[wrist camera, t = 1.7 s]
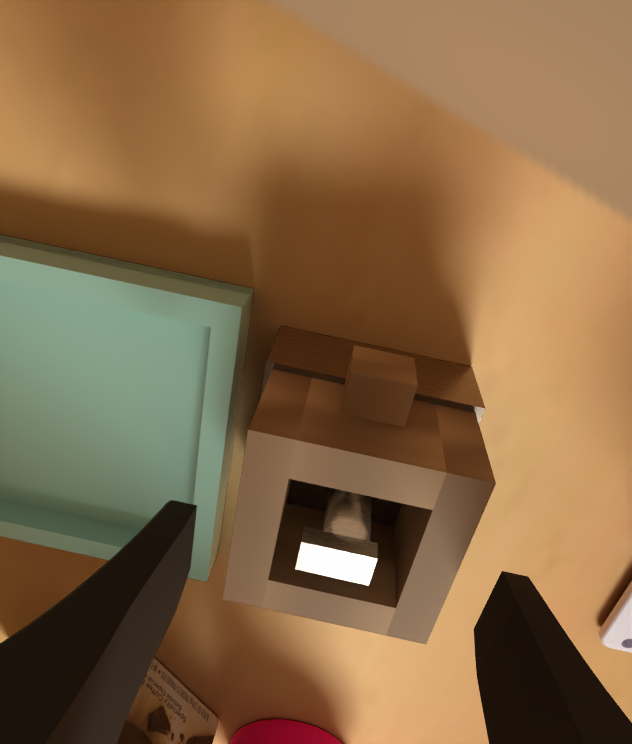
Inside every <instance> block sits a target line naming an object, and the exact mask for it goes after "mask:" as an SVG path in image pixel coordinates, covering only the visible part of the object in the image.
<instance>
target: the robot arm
mask: <svg viewBox="0 0 632 744" xmlns="http://www.w3.org/2000/svg"><path fill="white" fill-rule="evenodd" d="M196 511H197V505H193V504H188V503H184V502H179V501H175V500H170V501H169V502H167V503H166V504H165V505H164V506H163V507H162V508H161V509H160V511H159V512H158V513H157V514H156V515H155V516H154V517H153V518H152V519H151V520H150V521H149V522H148V523H147V524H146V525H145V526H144V528H143V529H142V530H141V531H140V532H139V533H138V534H137V535H136V536H135V537H133V538H132V539H131V540H130V541H129V542H128V543H127V544H126V545H125V546H124V547H123V548H122V549H121V550H120V551H119V552H118V553H117V554H115V555H114V556H113V557H112V558H111V559H110V560H109V561H108V562H107V563H106V564H105V565H104V566H102V567H101V568H100V569H99V570H98V571H97V572H95V573H94V574H93V575H92V576H91V577H89V578H88V579H87V580H86V581H85V582H83V583H82V584H81V585H80V586H79V587H77V588H76V589H75V590H74V591H73V592H71V593H70V594H69V595H68V596H66V597H65V598H64V599H63V600H61V601H60V602H59V603H57V604H56V605H55V606H53V607H52V608H51V609H49V610H48V611H47V612H45V613H44V614H43V615H41V616H40V617H38V618H37V619H36V620H34V621H33V622H31V623H30V624H29V625H27V626H26V627H24V628H23V629H21V630H20V631H18V632H17V633H15V634H14V635H12V636H11V637H9V638H8V639H6V640H5V641H3V642H2V643H0V744H117V742H118V739H119V736H120V734H121V731H122V728H123V725H124V723H125V721H126V718H127V716H128V714H129V711H130V709H131V706H132V704H133V702H134V700H135V698H136V696H137V693H138V691H139V689H140V687H141V685H142V683H143V680H144V678H145V676H146V674H147V672H148V670H149V668H150V665H151V663H152V661H153V659H154V657H155V655H156V653H157V650H158V648H159V646H160V644H161V642H162V640H163V637H164V635H165V633H166V631H167V629H168V627H169V624H170V622H171V620H172V618H173V616H174V613H175V611H176V609H177V606H178V603H179V600H180V597H181V594H182V592H183V589H184V586H185V583H186V580H187V577H188V574H189V571H190V568H191V559H192V549H193V540H194V530H195V521H196ZM599 636H600V639H601V641H602V643H603V644H604V645H605V646H607V647H609V648H613V649H617V650H622V651H626V652H631V653H632V581H631V583H630V584H629V586H628V587H627V589H626V590H625V592H624V593H623V595H622V596H621V598H620V599H619V601H618V602H617V604H616V606H615V607H614V609H613V610H612V612H611V613H610V615H609V616H608V618H607V619H606V621H605V622H604V624H603V625H602V627H601V628H600V630H599ZM474 640H475V657H476V670H477V679H478V685H479V690H480V696H481V701H482V707H483V712H484V718H485V723H486V728H487V734H488V739H489V744H632V723H631V721H630V720H629V719H628V718H627V716H626V715H625V714H624V712H623V711H622V710H621V709H620V707H619V706H618V705H617V703H616V702H615V701H614V700H613V698H612V697H611V696H610V694H609V693H608V692H607V690H606V689H605V688H604V686H603V685H602V684H601V682H600V681H599V680H598V678H597V677H596V676H595V674H594V673H593V671H592V670H591V669H590V667H589V666H588V664H587V663H586V662H585V660H584V659H583V657H582V656H581V655H580V653H579V652H578V650H577V649H576V647H575V646H574V644H573V643H572V641H571V640H570V639H569V637H568V636H567V634H566V633H565V631H564V630H563V628H562V627H561V625H560V624H559V622H558V621H557V619H556V618H555V616H554V615H553V613H552V612H551V610H550V609H549V607H548V606H547V604H546V603H545V601H544V600H543V598H542V597H541V595H540V594H539V592H538V591H537V589H536V588H535V586H534V585H533V583H532V582H531V580H530V579H529V577H527V576H522V575H518V574H513V573H509V572H504V571H502V572H501V574H500V576H499V579H498V581H497V583H496V585H495V587H494V589H493V591H492V593H491V595H490V597H489V599H488V601H487V603H486V605H485V607H484V609H483V611H482V613H481V615H480V617H479V619H478V622H477V624H476V626H475V628H474Z"/></svg>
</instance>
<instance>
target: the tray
mask: <svg viewBox="0 0 632 744" xmlns="http://www.w3.org/2000/svg"><path fill="white" fill-rule="evenodd" d="M253 294H254V289H252V288H248V287H243V286H238V285H234V284H229V283H224V282H220V281H215V280H210V279H206V278H201V277H196V276H192V275H187V274H182V273H178V272H173V271H168V270H164V269H159V268H154V267H150V266H145V265H140V264H136V263H131V262H126V261H121V260H117V259H112V258H107V257H103V256H98V255H93V254H89V253H84V252H79V251H75V250H70V249H65V248H61V247H56V246H51V245H47V244H42V243H37V242H33V241H28V240H23V239H19V238H14V237H9V236H5V235H0V536H1V537H6V538H10V539H15V540H19V541H24V542H29V543H33V544H38V545H42V546H47V547H51V548H56V549H60V550H65V551H69V552H74V553H78V554H83V555H87V556H92V557H96V558H101V559H105V560H110V559H111V558H112V557H113V556H114V555H115V554H117V553H118V552H119V551H120V550H121V549H122V548H123V547H124V546H125V545H126V544H127V543H128V542H129V541H130V540H131V539H132V538H133V537H135V536H136V535H137V534H138V533H139V532H140V531H141V530H142V529H143V528H144V526H145V525H146V524H147V523H148V522H149V521H150V520H151V519H152V518H153V517H154V516H155V515H156V514H157V513H158V512H159V511H160V509H161V508H162V507H163V506H164V505H165V504H166V503H167V502H169V501H170V500H175V501H179V502H184V503H188V504H193V505H197V511H196V521H195V530H194V540H193V549H192V559H191V568H190V571H189V574H188V577H187V578H191V579H196V580H200V581H205V582H207V580H208V578H209V575H210V572H211V569H212V567H213V564H214V561H215V558H216V555H217V553H218V550H219V543H220V535H221V528H222V521H223V513H224V506H225V499H226V491H227V484H228V477H229V470H230V462H231V455H232V448H233V440H234V433H235V426H236V418H237V411H238V404H239V396H240V389H241V382H242V374H243V367H244V360H245V352H246V345H247V338H248V331H249V323H250V316H251V309H252V301H253Z"/></svg>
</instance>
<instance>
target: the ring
mask: <svg viewBox="0 0 632 744" xmlns="http://www.w3.org/2000/svg"><path fill="white" fill-rule="evenodd" d="M417 386H418V384H417V375H416V367H415V358H411V357H407V356H402V355H397V354H393V353H388V352H383V351H379V350H374V349H370V348H365V347H360V346H356V345H354V348H353V352H352V356H351V361H350V365H349V369H348V373H347V377H346V381H345V385H344V384H339V383H335V382H330V381H325V380H321V379H316V378H311V377H307V376H302V375H297V374H293V373H288V372H284V371H279V370H274V369H272V371H271V374H270V376H269V379H268V381H267V384H266V386H265V389H264V391H263V394H262V396H261V399H260V401H259V404H258V406H257V409H256V411H255V414H254V416H253V419H252V421H251V424H250V426H249V429H248V433H247V440H246V447H245V453H244V460H243V467H242V473H241V480H240V487H239V493H238V500H237V507H236V513H235V520H234V527H233V533H232V540H231V547H230V553H229V560H228V566H227V573H226V580H225V586H224V593H223V599H224V600H228V601H233V602H237V603H242V604H246V605H251V606H255V607H260V608H264V609H269V610H273V611H278V612H282V613H287V614H291V615H296V616H300V617H305V618H309V619H314V620H318V621H323V622H327V623H332V624H336V625H341V626H345V627H350V628H354V629H359V630H363V631H368V632H372V633H377V634H381V635H386V636H390V637H395V638H399V639H404V640H408V641H413V642H417V643H422V644H426V643H427V641H428V639H429V636H430V634H431V632H432V629H433V627H434V625H435V623H436V620H437V618H438V616H439V613H440V611H441V609H442V606H443V604H444V602H445V599H446V597H447V595H448V593H449V590H450V588H451V586H452V583H453V581H454V579H455V576H456V574H457V572H458V569H459V567H460V565H461V563H462V560H463V558H464V556H465V553H466V551H467V549H468V546H469V544H470V542H471V539H472V537H473V535H474V533H475V530H476V528H477V526H478V523H479V521H480V519H481V516H482V514H483V512H484V509H485V507H486V505H487V502H488V500H489V498H490V496H491V493H492V491H493V489H494V486H495V484H496V483H495V479H494V476H493V472H492V469H491V465H490V462H489V458H488V455H487V451H486V448H485V444H484V441H483V437H482V434H481V431H480V427H479V424H478V420H477V417H476V413H473V412H469V411H464V410H460V409H455V408H450V407H446V406H441V405H436V404H432V403H427V402H422V401H418V400H413V399H414V396H415V393H416V389H417ZM291 479H293V480H297V481H302V482H306V483H311V484H316V485H320V486H325V487H329V488H334V489H338V490H343V491H348V492H352V493H357V494H361V495H366V496H371V497H375V498H380V499H384V500H389V501H393V502H398V503H402V505H401V508H400V511H399V514H398V517H397V520H396V523H395V526H394V527H392V526H388V525H383V524H379V523H374V522H371V532H370V542H375V543H378V556H377V562H376V565H375V568H374V571H373V574H372V577H371V580H370V583H369V585H364V584H360V583H355V582H351V581H346V580H342V579H337V578H333V577H328V576H324V575H319V574H315V573H310V572H305V571H301V570H296V569H295V567H296V562H297V557H298V552H299V547H300V543H301V539H302V534H303V530H304V527H307V528H311V529H316V530H320V531H323V527H324V520H325V513H326V512H324V511H319V510H315V509H310V508H306V507H301V506H297V505H292V504H287V503H286V502H287V497H288V492H289V488H290V483H291Z"/></svg>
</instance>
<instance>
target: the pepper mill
mask: <svg viewBox="0 0 632 744" xmlns="http://www.w3.org/2000/svg"><path fill="white" fill-rule="evenodd" d="M229 744H342V743H341V742H340V741H339V740H338V739H336V738H335V737H334V736H332V735H331V734H329V733H328V732H326V731H324V730H322V729H320V728H318V727H315V726H313V725H309V724H306V723H302V722H299V721H292V720H284V719H270V720H261V721H257V722H254V723H251V724H248V725H246V726H244V727H243V728H241V729H240V730H238V731H237V732H236V733H235V734H234V736H233V737H232V739H231V741H230V743H229Z"/></svg>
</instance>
